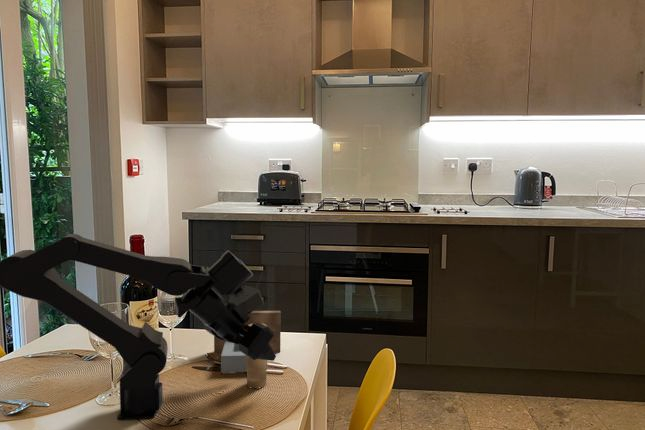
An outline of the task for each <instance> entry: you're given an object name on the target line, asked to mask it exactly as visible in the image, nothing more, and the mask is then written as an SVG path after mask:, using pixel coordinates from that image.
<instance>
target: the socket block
mask: <svg viewBox="0 0 645 430" xmlns="http://www.w3.org/2000/svg"><path fill="white" fill-rule="evenodd" d="M220 354H221V356H220V374H221V373H223V374H231V373H230V372H242V371H246V370H247V356H246V355H245V354H244V353H242V352H241V351H240V350H239V344H235V343H232V342H231V343H230V342H228V341H225V345H224V348H223V351H222V353H220ZM267 361H269V360H266V370H267V371H268V363H267Z"/></svg>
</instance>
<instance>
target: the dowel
mask: <svg viewBox="0 0 645 430" xmlns="http://www.w3.org/2000/svg"><path fill="white" fill-rule="evenodd" d="M261 324H262V323H261ZM251 325H252V324H249V325H248V326H250V327H251ZM263 325H265V324H263ZM265 326H266V325H265ZM246 382H247V383H246V386H247V385H248V386H249V387H251V388H250V389H253V388H259V387H263V386H265V385H266V386H267V372H266V360H263V359H256V360H253V359H251V358H250V357H248V356H247V373H246ZM248 386H247V387H248ZM266 386H265V387H266ZM249 387H248V388H249ZM263 388H264V387H263ZM259 389H260V388H259Z"/></svg>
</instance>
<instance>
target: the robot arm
mask: <svg viewBox="0 0 645 430" xmlns="http://www.w3.org/2000/svg"><path fill="white" fill-rule="evenodd" d="M67 261H74V262H77V263H82V264H86V265H87V266H88V265H89V266H93V267H96V268H101V269H104V270H107V271H112V272H114V273H118V274H122V275H125V276H130V277H133V278H137V279H138V280H141V281H144V282H145V283H146V284H148V285H149V286H151V287H153V288H155V289H157V290H159V291H161V292H162V293H165V294H168V295H170V296H175V298H174V302H175V303H174V310H175V311H174V312H175V313H176V316H177V318H182V317H183V316H184V315H185V314H186V313H188V311H189V312H190V313H191V314H193V315H194V316H195V317H197V318H198V319H199V320H200V321H201V323H202V324H203V328H204V330H205V331H206V332H207V333H209V334H210V335H212V336H213V337H214V336H215V337H217V338H219V339H221V340H224V341H228V342H230V343H231V342H232V343H235V344H239V350H240V351H241V352H242V353H244V354H245V355H246V356H248V357H250V358H251V359H253V360H256V359H263V360H268V361H271V362H274V361H275V359H276V357H277V355H276V352H274V351H273V349H272V348H271V346H270V344H269V341H270V340H271V339H272V337H273V336H274V332H273V331H272V330H271V329H270V328H269V327H267V326H265V325H263V324H261V323H259V322H258V323H253V324H252V325H251V327H250V326H248V325H246V324H245V322H246V323H247V322H248V320H249V319H250V317H249V316H248V315H247V314H250V313H251V312H253V311H256V310H257V309H258V308H259V307H262V306H264V304H265V301H264V299H263V296H262V294H261V292H260V290H259V289H258V288H255V287H253V286H250V285H249V286H247V285H244V284H245V283H246V282H248V280H250V279H251V278H252V277H253V275H254V273H253V272H252V271H251V270H250V269H249V267H248V266H247V265H246V264H245V263H244V262H243V261H242V259H240V258H238V257H237V256H236V255H235V254H233V253H232V252H231V251H230V250H229V249H227V250H226V251H225V252H223V254H222V255H221V257H219V258H218V260H216V262H214V263H213V264H212V265H211V266H210V267H208V266H202V265H196V264H190V263H191V262H189V261H188V260H186V259H184V258H179V257H170V256H151V255H146V254H145V255H144V254H142V253H138V252H134V251H131V250H127V249H124V248H121V247H118V246H117V247H116V246H113V245H110V244H106V243H104V242H99V241H96V240H92V239H89V238H86V237H83V236H81V235H80V234H76V233H70V234H66V235H65V236H63V237H61V238H60V239H59V240H56V241H54V242H52V243H50V244H47V245H45V246H43V247H41V248H39V249H36V250H34V249H33V250H32V249H24V250H19V251H17V252H15V253H12V254H11V255H10V256H7V257H5V258H3V259H2V260H1V261H0V288H3V289H4V290H6V291H9V292H11V293H14V294H16V295H18V296H20V297H23V298H27V299H30V300H35V301H39V302H43V303H45V304H47V305H48V306H50V307H51V308H53V309H54V310H56V311H57V312H59V313H61V314H62V315H64V316H65V317H66V318H69V319H70V320H71V321H73V322H74V323H76V324H77V325H79V326H80V327H83V328H84V329H85V330H86V331H89V332H90V333H91V334H93V335H95V336H96V337H97V338H99V339H101V340H103V341H104V342H106V344H108V345H110V346H112V347H113V348H114V349H115V351H116V352H117V353H118V355H119V356H120V357H121V359H122V360H123V361H124V365H123V368H122V372H121V374H120V377H119V405H120V407H119V409H120V411H119V413H118V414H117V416H116V419H117V420H149V419H154V418H155V417H156V414H157V413H158V411H159V410H160V409H161V407H162V404H163V402H164V401H163V397H164V396H163V383H162V382H160V373H161V372H162V371H163V370H164V368H165V367H166V365H167V358H168V352H169V351H168V350H169V347H168V342H167V340H166V338H165V337H164V332H163V331H158V330H156V329H154V328H153V326H152V325H150V324H149V323H148V322H146V321H145V322H144V323H143V325H142V326H141V327H139V326H134V325H131V324H129V323H127V322H126V321H124V320H123V319H122V318H120V317H118V316H117V315H116V314H114V313H112V312H111V311H109V310H108V309H107V308H105V307H104V306H102V305H101V304H99V303H97V302H96V301H95V300H93V299H92V298H90V297H89V296H88V295H86V294H84V293H83V292H81V291H79V290H78V289H77V288H75V287H74V286H72V285H71V284H69V283H68V282H67V281H65V279H63V278H62V277H61V275H60V274H59V272H58V271H57V269H56V267H58V266H60V265H61V264H64V263H66V262H67ZM243 285H244V286H243ZM215 289H216V290H217V291H218V292H216V291H215ZM219 293H220V294H219ZM221 295H222V296H228V295H229V300H228V299H226V298H224V297H222V296H221ZM178 296H179V297H178ZM243 329H244V330H243ZM245 330H246V331H245Z"/></svg>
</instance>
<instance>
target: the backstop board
mask: <svg viewBox="0 0 645 430" xmlns="http://www.w3.org/2000/svg"><path fill="white" fill-rule="evenodd" d="M281 314H282V312H281V310H254V311H253V312H251V313H250V314H247V315H248V316H249V317H250V319H249V320H248V322H247V323H246V322H245V324H246V325H249V324H253V323H258V322H259V323H262V324H265V325H266V326H267V327H269V328H270V329H271V330H272V331H273V332H274V336H273V337H272V339H271V340H270V341H269V344H270V346H271V348H272V349H273V351H274V353H281V332H282V331H281V325H282V324H281V323H282V322H281V321H282V320H281V319H282V318H281V317H282V315H281ZM243 330H244V329H243ZM245 331H246V330H245ZM224 345H225V341H224V340H221V339H219V338H217V337H215V336H213V353H214V354H222V351H223V348H224Z"/></svg>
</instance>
